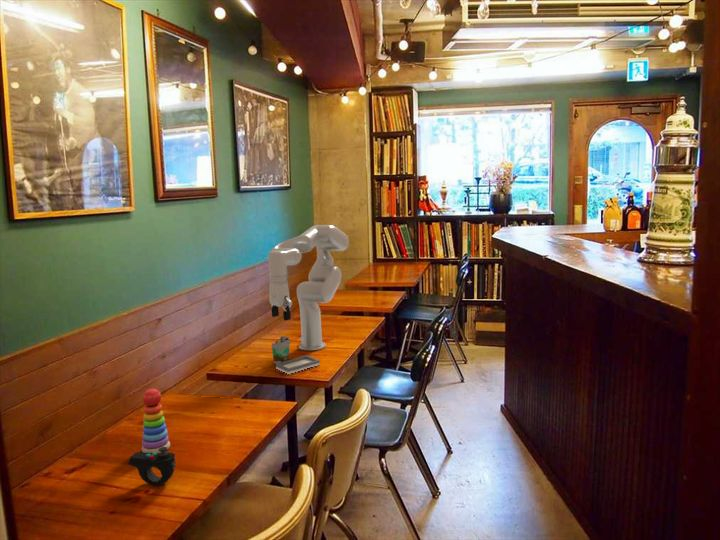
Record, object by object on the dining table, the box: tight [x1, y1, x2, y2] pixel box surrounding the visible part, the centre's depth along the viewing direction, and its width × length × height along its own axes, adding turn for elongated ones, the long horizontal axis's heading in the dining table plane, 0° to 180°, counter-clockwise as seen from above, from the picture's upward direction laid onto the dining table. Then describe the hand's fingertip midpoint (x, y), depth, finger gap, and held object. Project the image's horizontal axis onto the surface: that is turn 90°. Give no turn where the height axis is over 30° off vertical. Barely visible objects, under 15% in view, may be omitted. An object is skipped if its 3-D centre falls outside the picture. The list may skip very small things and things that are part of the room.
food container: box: [271, 335, 291, 366], centre depth 240 cm, size 12×6×10 cm, turn 168°
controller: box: [128, 447, 177, 486], centre depth 144 cm, size 4×12×10 cm, turn 80°
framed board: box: [275, 355, 321, 375], centre depth 232 cm, size 10×16×2 cm, turn 129°
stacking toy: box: [141, 388, 171, 453], centre depth 162 cm, size 8×8×19 cm
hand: (281, 318), depth 238 cm, fingers open, 9 cm apart
